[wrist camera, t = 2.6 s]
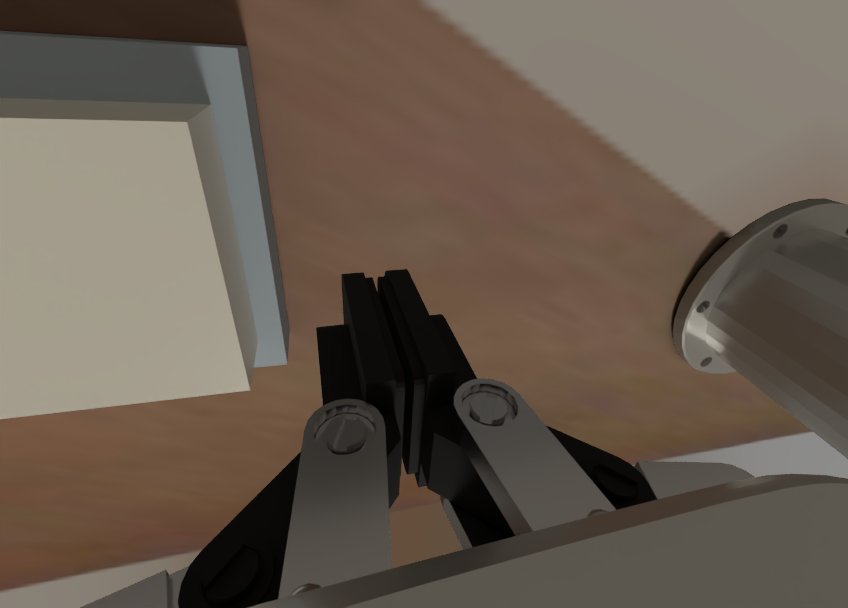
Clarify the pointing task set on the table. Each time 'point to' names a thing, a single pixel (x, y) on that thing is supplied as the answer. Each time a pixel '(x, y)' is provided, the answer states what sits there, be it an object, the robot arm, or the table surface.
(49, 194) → the tile
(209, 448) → the table surface
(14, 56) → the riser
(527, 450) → the robot arm
